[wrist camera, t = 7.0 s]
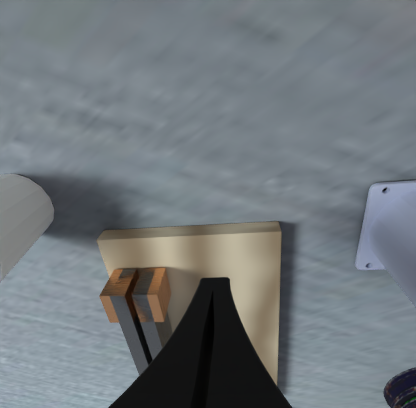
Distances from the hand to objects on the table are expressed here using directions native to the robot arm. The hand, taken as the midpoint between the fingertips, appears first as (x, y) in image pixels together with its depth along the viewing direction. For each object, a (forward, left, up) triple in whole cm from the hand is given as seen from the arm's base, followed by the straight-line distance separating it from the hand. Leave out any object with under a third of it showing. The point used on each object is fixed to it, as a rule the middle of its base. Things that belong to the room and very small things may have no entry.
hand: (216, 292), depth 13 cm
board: (+3, +15, -9) cm, 18 cm away
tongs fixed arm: (+8, +16, -8) cm, 19 cm away
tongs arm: (+6, +14, -8) cm, 18 cm away
